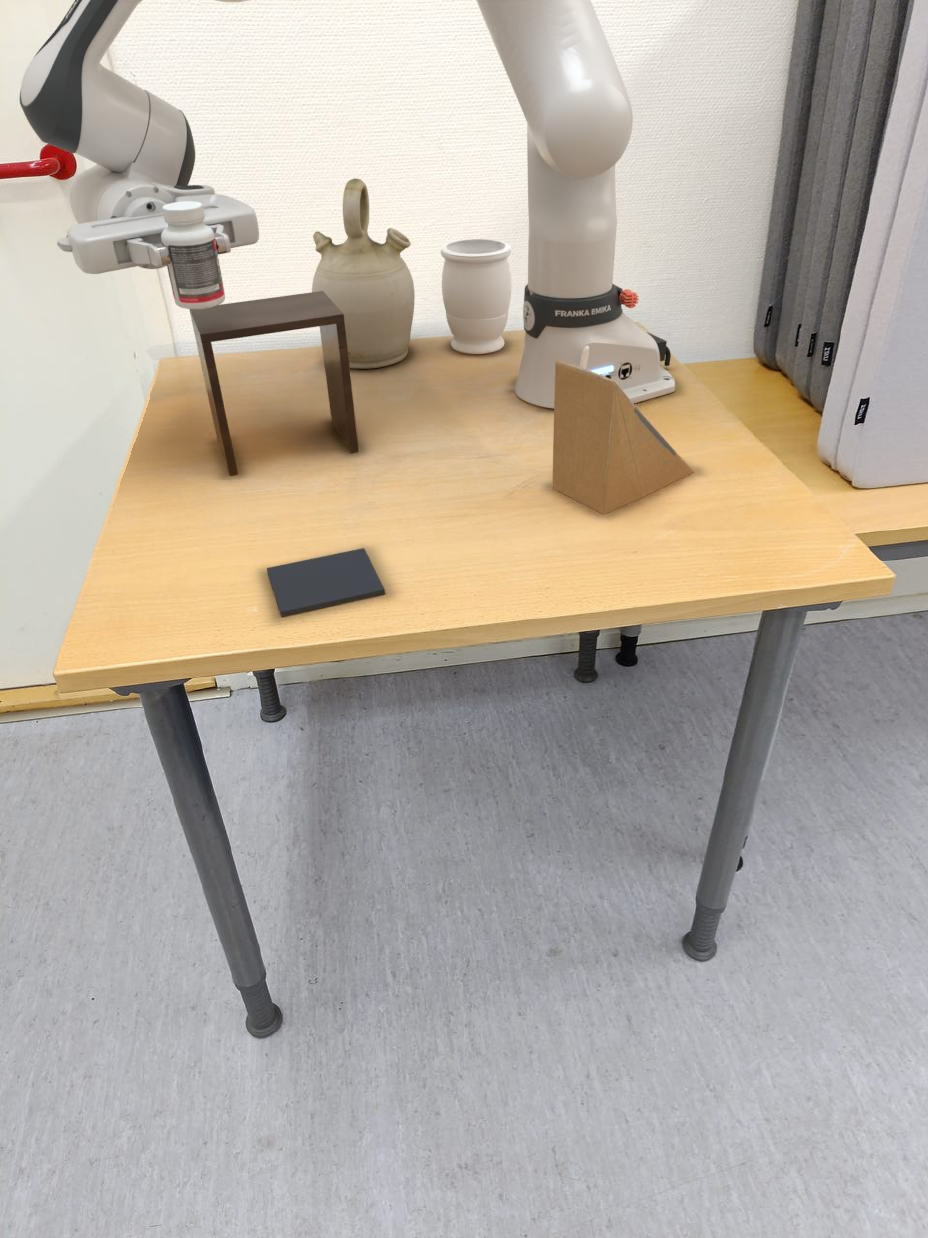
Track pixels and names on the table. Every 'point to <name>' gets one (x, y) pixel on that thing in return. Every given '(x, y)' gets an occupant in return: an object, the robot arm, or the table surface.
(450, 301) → the jar
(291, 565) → the pad
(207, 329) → the arch
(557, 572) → the table surface
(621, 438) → the sandwich container
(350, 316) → the jug
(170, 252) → the pill bottle
